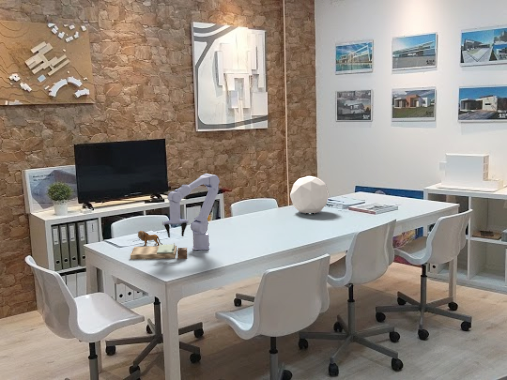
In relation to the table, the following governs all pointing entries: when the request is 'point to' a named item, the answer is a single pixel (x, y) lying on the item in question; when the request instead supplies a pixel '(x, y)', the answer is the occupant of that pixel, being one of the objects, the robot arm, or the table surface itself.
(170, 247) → the lid
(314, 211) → the geometric form
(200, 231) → the robot arm
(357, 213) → the table surface
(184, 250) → the walnut cube
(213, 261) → the table surface
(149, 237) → the lion figurine
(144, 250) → the wooden frame
